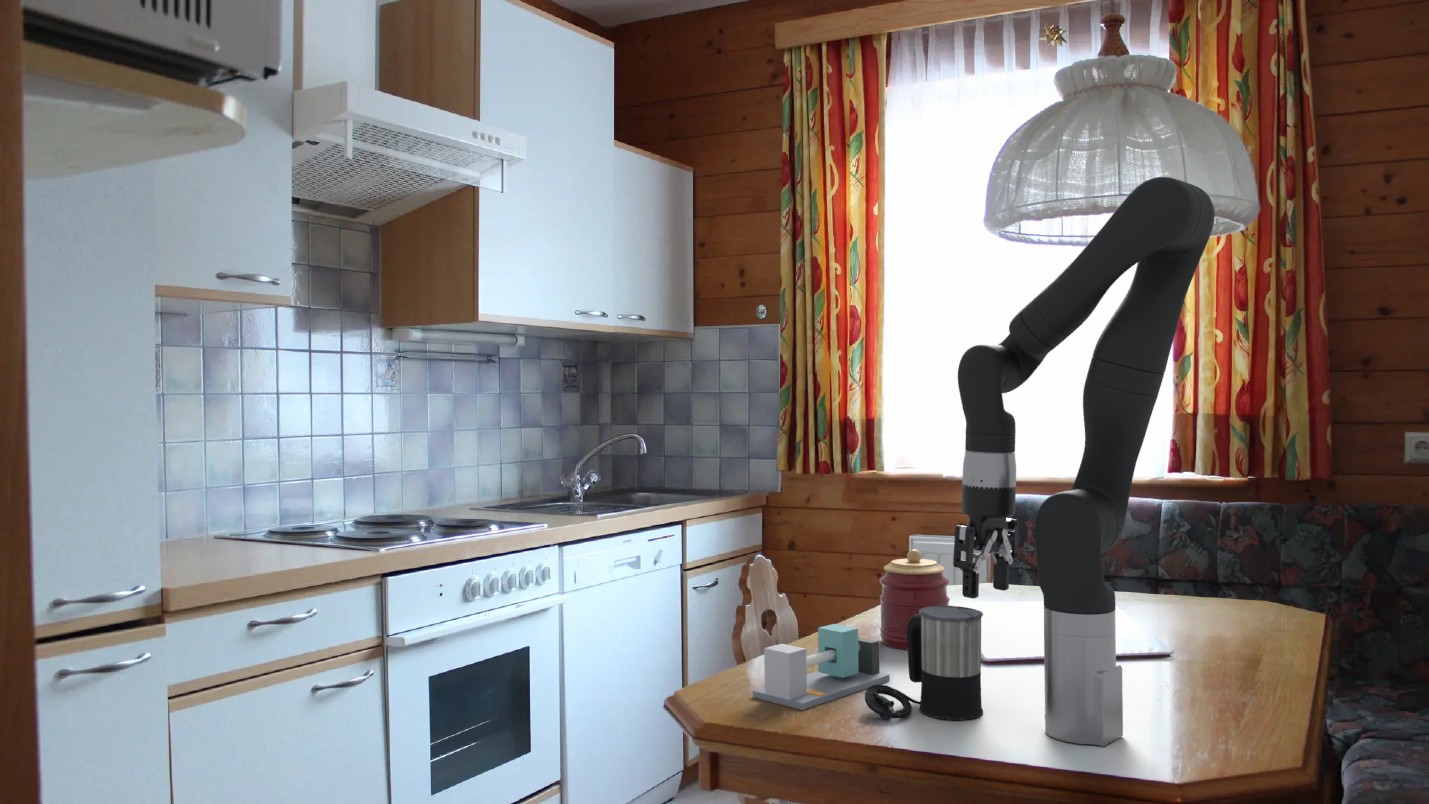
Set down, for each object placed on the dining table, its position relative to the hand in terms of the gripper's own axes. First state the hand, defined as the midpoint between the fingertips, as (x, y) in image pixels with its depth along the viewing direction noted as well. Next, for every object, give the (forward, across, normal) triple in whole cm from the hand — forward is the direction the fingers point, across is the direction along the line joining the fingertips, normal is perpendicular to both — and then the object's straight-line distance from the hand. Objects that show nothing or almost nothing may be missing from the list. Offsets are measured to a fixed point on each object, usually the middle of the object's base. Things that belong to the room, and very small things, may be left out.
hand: (985, 593), depth 152 cm
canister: (+19, +30, +32) cm, 48 cm away
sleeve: (+17, -2, +25) cm, 30 cm away
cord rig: (+19, -6, +25) cm, 32 cm away
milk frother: (+18, -6, +6) cm, 20 cm away
